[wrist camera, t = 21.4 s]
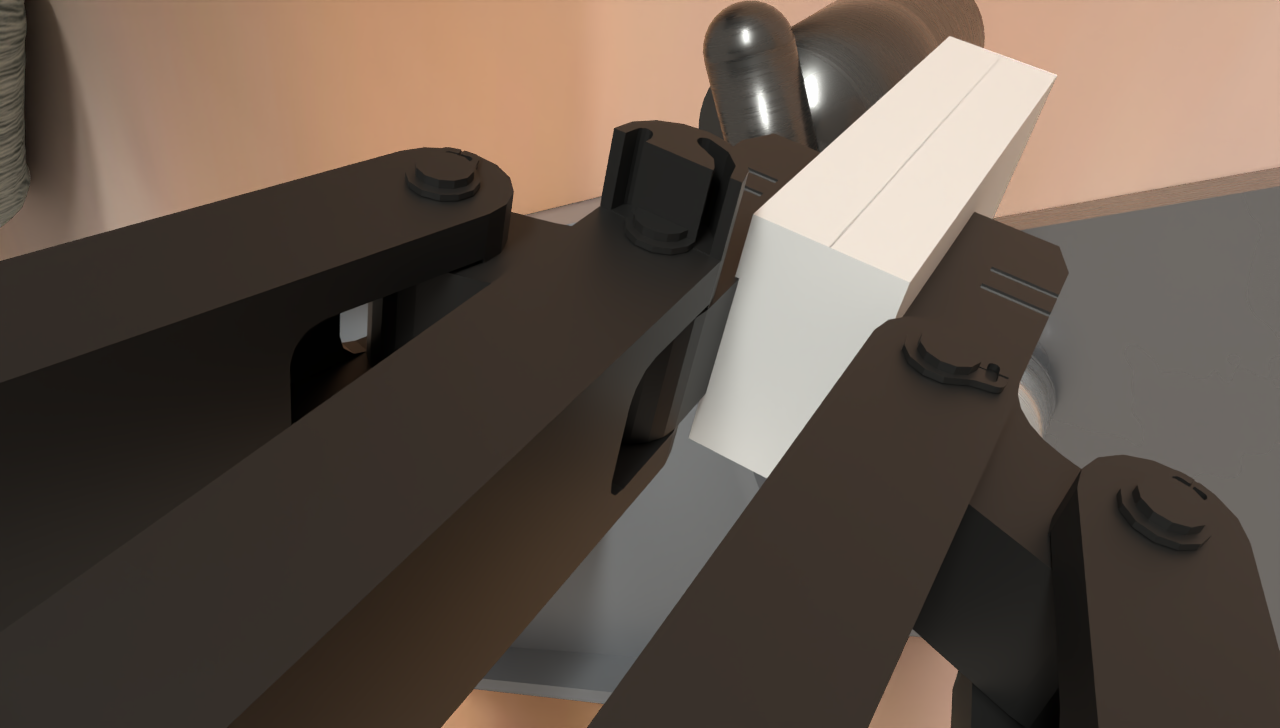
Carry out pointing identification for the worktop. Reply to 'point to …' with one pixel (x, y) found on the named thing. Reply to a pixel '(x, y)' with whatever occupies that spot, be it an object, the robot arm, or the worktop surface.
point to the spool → (12, 109)
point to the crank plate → (1174, 341)
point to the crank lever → (833, 85)
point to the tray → (619, 561)
